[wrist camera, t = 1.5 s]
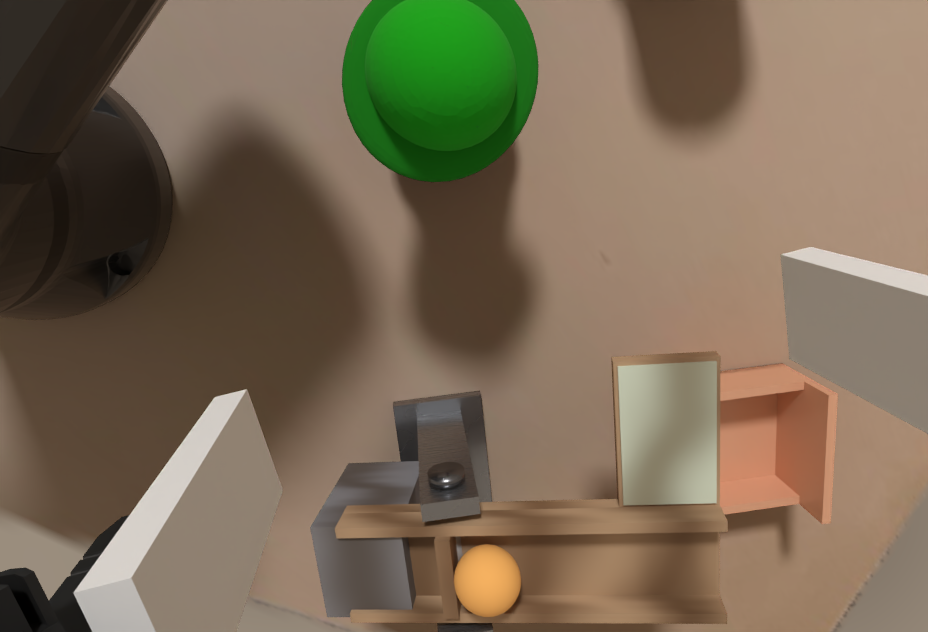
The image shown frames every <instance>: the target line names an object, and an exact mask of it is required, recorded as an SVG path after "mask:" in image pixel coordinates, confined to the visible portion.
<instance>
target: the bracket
mask: <svg viewBox="0 0 928 632" xmlns="http://www.w3.org/2000/svg"><path fill="white" fill-rule="evenodd" d="M393 409H394V416H395V423H396V430H397V437H398V444H399V451H400V458H401V462H406V461H419V487H420V507H421V515H422V522H427V521H434V520H441V519H448V518H455V517H462V516H469V515H476V514H480V505H479V502H492V498H491V488H490V479H489V469H488V459H487V449H486V440H485V430H484V420H483V411H482V401H481V394H480V391H474V392H466V393H459V394H451V395H443V396H436V397H428V398H420V399H413V400H405V401H397V402H393ZM437 624H438V632H493V627H492V623H437Z"/></svg>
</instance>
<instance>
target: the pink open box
mask: <svg viewBox="0 0 928 632" xmlns="http://www.w3.org/2000/svg"><path fill="white" fill-rule="evenodd" d="M837 401H838V394H837V393H835V392H833V391H831V390H830V389H828V388H826V387H824V386H822V385H821V384H819V383H817V382H815V381H813V380H812V379H810V378H808V377H806V376H804V375H803V374H801V373H799V372H797V371H795V370H794V369H792V368H790V367H788V366H786V365H785V364H783V363H780V364H773V365H765V366H757V367H750V368H742V369H734V370H727V371H720V506H721V508H722V510H723V512H724V514H732V513H739V512H746V511H753V510H759V509H766V508H773V507H780V506H787V505H794V504H800V505H801V506H802V507H803V508H805V509H806V510H807V511H808V512H809V513H810V514H811V515H812V516H814V517H815V518H816V519H817V520H818V521H819V522H820V523H821V524H826V523H831V508H832V490H833V472H834V455H835V437H836V419H837Z"/></svg>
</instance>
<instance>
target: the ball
mask: <svg viewBox="0 0 928 632" xmlns="http://www.w3.org/2000/svg"><path fill="white" fill-rule="evenodd" d="M454 587H455V591H456V594H457V596H458V599H459V600H460V602H461V603H462V605H463V606H464V607H465V608H466V609H467V610H469V611H470V612H472V613H473V614H476V615H478V616H482V617H494V616H498V615H500V614H503V613H504V612H506V611H507V610H508V609H510V608H511V607H512V605H513V604H514V603H515V601H516V599H517V597H518V595H519V592H520V588H521V575H520V570H519V567H518V565H517V563H516V561H515V560H514V558H513V557H512V556H511V555H510V554H509V553H508V552H507V551H506V550H504V549H503V548H501V547H498V546H496V545H490V544H484V545H479V546H476V547H473V548H472V549H470V550H468V551H467V552H466V553H465V554H464V555H463V556H462V557H461V559H460V560H459V562H458V564H457V566H456V569H455V574H454Z"/></svg>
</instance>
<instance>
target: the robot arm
mask: <svg viewBox="0 0 928 632" xmlns="http://www.w3.org/2000/svg"><path fill="white" fill-rule="evenodd" d="M166 2H167V0H0V317H6V318H17V319H31V320H46V319H56V318H63V317H69V316H73V315H77V314H81V313H84V312H87V311H89V310H92V309H94V308H97V307H99V306H101V305H103V304H105V303H107V302H109V301H111V300H113V299H115V298H117V297H119V296H120V295H122V294H124V293H125V292H127V291H128V290H130V289H131V288H132V287H133V286H135V285H136V284H137V283H138V282H139V281H140V280H141V279H142V278H143V277H144V276H145V275H146V274H147V273H148V272H149V270H150V269H151V268H152V266H153V265H154V263H155V262H156V260H157V258H158V257H159V255H160V253H161V251H162V249H163V247H164V244H165V241H166V239H167V235H168V232H169V227H170V223H171V215H172V192H171V184H170V178H169V174H168V170H167V166H166V163H165V160H164V157H163V155H162V152H161V150H160V148H159V146H158V144H157V142H156V140H155V138H154V136H153V134H152V133H151V131H150V129H149V128H148V126H147V125H146V123H145V122H144V121H143V119H142V118H141V117H140V115H139V114H138V113H137V112H136V111H135V110H134V108H133V107H132V106H131V105H130V104H129V103H128V102H127V101H126V100H125V99H124V98H123V97H122V96H121V95H119V94H118V93H117V92H116V91H115V90H113V89H112V88H111V87H109V85H110V84H111V82H112V81H113V80H114V78H115V77H116V75H117V74H118V72H119V71H120V69H121V68H122V66H123V65H124V63H125V62H126V60H127V59H128V58H129V56H130V55H131V53H132V52H133V50H134V49H135V47H136V46H137V44H138V43H139V41H140V40H141V38H142V37H143V36H144V34H145V33H146V31H147V30H148V28H149V27H150V25H151V24H152V22H153V21H154V19H155V18H156V16H157V15H158V14H159V12H160V11H161V9H162V8H163V6H164V5H165V3H166ZM781 265H782V276H783V288H784V300H785V312H786V324H787V335H788V347H789V359H791V360H792V361H794V362H796V363H798V364H800V365H802V366H804V367H805V368H807V369H809V370H811V371H813V372H815V373H817V374H818V375H820V376H822V377H824V378H826V379H828V380H829V381H831V382H833V383H835V384H837V385H839V386H841V387H842V388H844V389H846V390H848V391H850V392H852V393H853V394H855V395H857V396H859V397H861V398H863V399H865V400H866V401H868V402H870V403H872V404H874V405H876V406H877V407H879V408H881V409H883V410H885V411H887V412H889V413H890V414H892V415H894V416H896V417H898V418H900V419H901V420H903V421H905V422H907V423H909V424H911V425H913V426H914V427H916V428H918V429H920V430H922V431H924V432H926V433H927V434H928V275H924V274H920V273H915V272H911V271H907V270H903V269H899V268H895V267H891V266H887V265H883V264H878V263H874V262H870V261H866V260H862V259H858V258H854V257H850V256H846V255H842V254H837V253H833V252H829V251H825V250H821V249H817V248H813V247H809V248H805V249H801V250H797V251H793V252H789V253H785V254H781ZM282 492H283V489H282V486H281V483H280V480H279V477H278V475H277V472H276V469H275V466H274V463H273V461H272V458H271V455H270V452H269V449H268V447H267V444H266V441H265V438H264V435H263V432H262V430H261V427H260V424H259V421H258V418H257V416H256V413H255V410H254V407H253V404H252V401H251V399H250V396H249V393H248V390H247V389H245V390H241V391H237V392H233V393H229V394H225V395H221V396H217V397H215V398H214V399H213V400H212V402H211V403H210V404H209V406H208V407H207V409H206V410H205V411H204V413H203V414H202V416H201V417H200V418H199V420H198V421H197V422H196V424H195V425H194V427H193V428H192V429H191V431H190V432H189V434H188V435H187V436H186V438H185V439H184V440H183V442H182V443H181V445H180V446H179V447H178V449H177V450H176V452H175V453H174V454H173V456H172V457H171V458H170V460H169V461H168V463H167V464H166V465H165V467H164V468H163V470H162V471H161V472H160V474H159V475H158V476H157V478H156V479H155V481H154V482H153V483H152V485H151V486H150V488H149V489H148V490H147V492H146V493H145V494H144V496H143V497H142V499H141V500H140V501H139V503H138V504H137V505H136V507H135V508H134V510H133V511H132V512H131V514H130V515H128V516H124V517H121V518H120V519H119V520H118V521H116V522H115V523H114V524H113V525H112V526H110V527H109V528H108V529H107V530H106V531H104V532H103V533H102V534H101V535H99V536H98V537H97V539H96V540H95V541H94V543H93V544H92V545H91V546H90V548H89V549H88V550H87V552H86V553H85V554H84V556H83V560H80V561H79V562H78V564H77V565H76V566H75V568H74V569H73V570H72V571H71V576H69V577H67V578H66V579H65V581H64V582H63V584H61V586H60V587H59V588H58V590H57V591H56V592H55V594H54V595H53V596H52V598H51V599H50V600H49V601H48V599H47V597H46V595H45V593H44V591H43V589H42V587H41V585H40V583H39V581H38V579H37V577H36V575H35V573H34V571H31V570H29V569H27V568H17V569H9V570H6V571H3V572H0V632H236V631H237V628H238V625H239V622H240V619H241V616H242V613H243V610H244V607H245V604H246V601H247V598H248V595H249V592H250V589H251V586H252V583H253V580H254V577H255V574H256V571H257V567H258V564H259V561H260V558H261V555H262V552H263V549H264V546H265V543H266V540H267V537H268V534H269V531H270V528H271V525H272V522H273V519H274V516H275V513H276V510H277V507H278V504H279V501H280V498H281V495H282Z"/></svg>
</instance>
